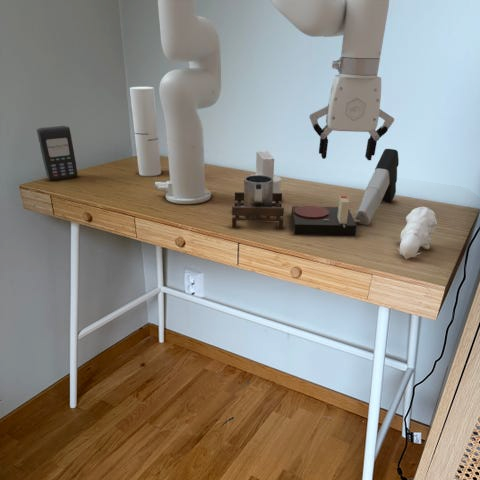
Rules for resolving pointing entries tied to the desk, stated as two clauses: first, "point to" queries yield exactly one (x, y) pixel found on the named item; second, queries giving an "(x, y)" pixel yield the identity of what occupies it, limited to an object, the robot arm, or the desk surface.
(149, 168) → the cylindrical container
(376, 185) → the handheld device
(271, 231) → the desk surface
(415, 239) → the white animal figurine
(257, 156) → the base with upright slab
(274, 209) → the drying rack
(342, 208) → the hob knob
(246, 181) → the steel pot
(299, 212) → the hot plate
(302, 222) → the hob
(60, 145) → the card reader
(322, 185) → the desk surface
